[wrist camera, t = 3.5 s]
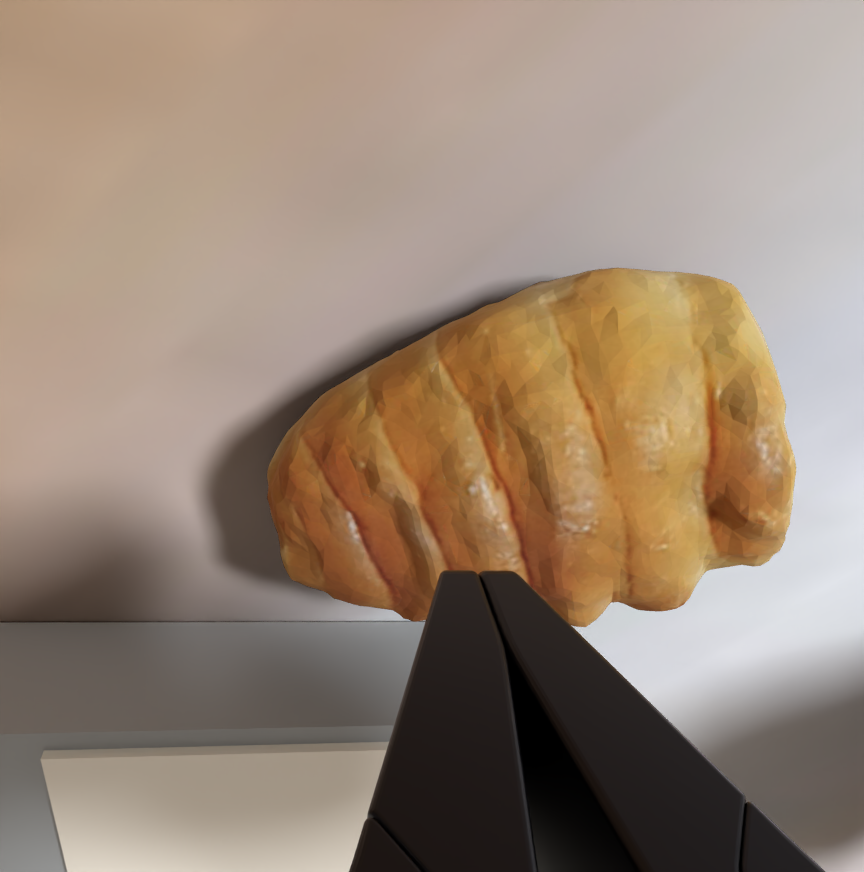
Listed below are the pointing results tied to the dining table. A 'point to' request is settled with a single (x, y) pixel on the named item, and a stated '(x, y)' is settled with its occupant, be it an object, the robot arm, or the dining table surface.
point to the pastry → (547, 451)
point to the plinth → (194, 742)
